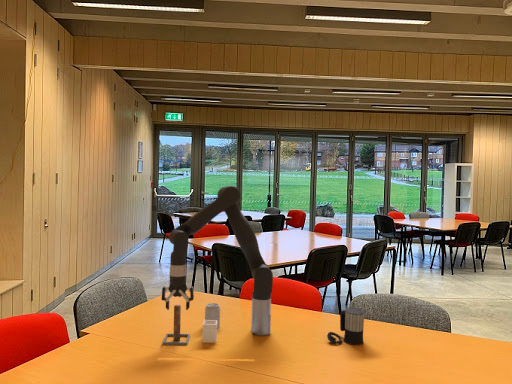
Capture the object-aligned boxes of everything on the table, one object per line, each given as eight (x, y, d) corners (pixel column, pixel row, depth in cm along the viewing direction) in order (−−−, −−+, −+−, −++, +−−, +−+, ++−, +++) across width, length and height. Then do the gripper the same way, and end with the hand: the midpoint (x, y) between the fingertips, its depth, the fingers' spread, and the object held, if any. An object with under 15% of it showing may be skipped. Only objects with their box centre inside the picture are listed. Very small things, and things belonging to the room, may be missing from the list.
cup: (216, 339, 206) (217, 320, 205) (216, 344, 200) (216, 324, 199) (203, 339, 206) (204, 319, 205) (202, 344, 199) (202, 324, 199)
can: (212, 331, 215) (213, 307, 215) (201, 328, 220) (202, 304, 219) (222, 328, 221) (223, 304, 221) (211, 324, 226) (212, 301, 225)
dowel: (180, 339, 202) (181, 304, 202) (179, 341, 199) (180, 306, 199) (173, 339, 202) (174, 304, 202) (172, 341, 199) (173, 306, 199)
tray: (190, 337, 207) (190, 333, 207) (187, 346, 196) (187, 342, 196) (166, 337, 206) (166, 333, 206) (162, 346, 195) (162, 342, 195)
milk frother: (367, 342, 208) (368, 311, 208) (349, 350, 197) (350, 317, 196) (341, 333, 218) (343, 304, 218) (323, 341, 207) (324, 310, 206)
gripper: (194, 272, 204) (194, 307, 204) (163, 272, 203) (163, 306, 204) (193, 276, 196) (192, 312, 197) (160, 275, 196) (160, 311, 196)
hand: (177, 309), depth 200 cm, fingers open, 8 cm apart
